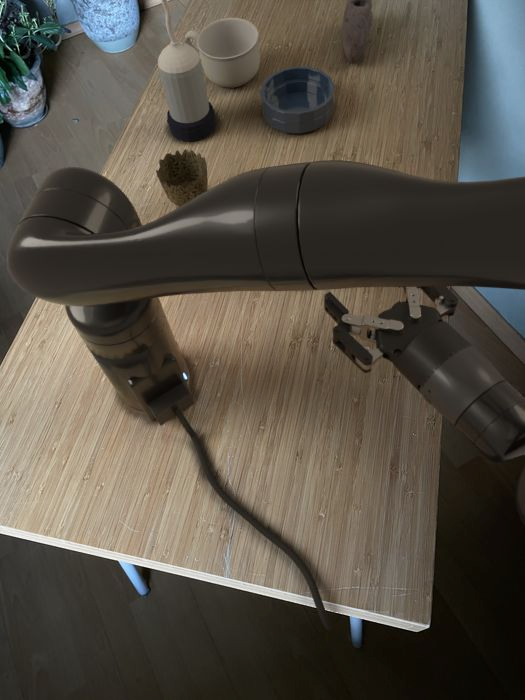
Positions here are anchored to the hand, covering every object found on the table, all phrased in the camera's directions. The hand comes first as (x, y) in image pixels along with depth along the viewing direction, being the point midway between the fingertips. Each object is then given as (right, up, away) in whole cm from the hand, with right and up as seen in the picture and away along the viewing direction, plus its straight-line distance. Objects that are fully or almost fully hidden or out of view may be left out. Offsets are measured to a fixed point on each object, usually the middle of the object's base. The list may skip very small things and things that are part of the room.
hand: (354, 279), depth 71 cm
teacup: (-18, +42, +38) cm, 59 cm away
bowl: (-5, +33, +31) cm, 45 cm away
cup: (-22, +14, +22) cm, 34 cm away
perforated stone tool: (+6, +48, +39) cm, 62 cm away
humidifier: (-23, +30, +31) cm, 49 cm away
